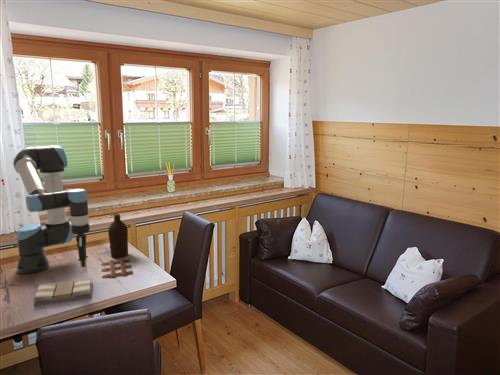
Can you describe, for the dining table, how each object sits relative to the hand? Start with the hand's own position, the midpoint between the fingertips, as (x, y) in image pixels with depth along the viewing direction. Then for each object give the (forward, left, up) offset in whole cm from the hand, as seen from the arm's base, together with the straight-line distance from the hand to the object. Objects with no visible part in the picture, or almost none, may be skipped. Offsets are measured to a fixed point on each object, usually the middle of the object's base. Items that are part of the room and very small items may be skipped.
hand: (84, 272), depth 178 cm
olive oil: (-43, +16, -10) cm, 47 cm away
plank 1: (+1, -16, -8) cm, 18 cm away
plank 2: (+1, -1, -8) cm, 8 cm away
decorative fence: (-23, +14, -11) cm, 29 cm away
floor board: (+1, -9, -10) cm, 13 cm away
